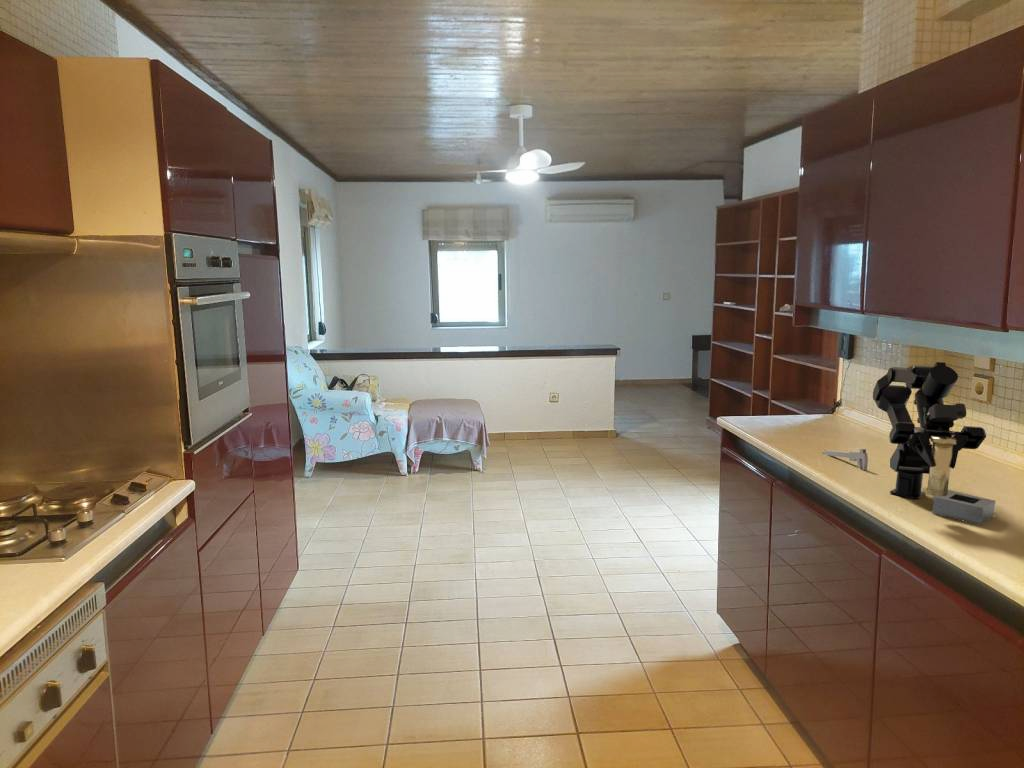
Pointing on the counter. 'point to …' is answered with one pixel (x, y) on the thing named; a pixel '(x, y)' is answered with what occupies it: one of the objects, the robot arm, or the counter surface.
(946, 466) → the flanged metal cylinder
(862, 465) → the caliper
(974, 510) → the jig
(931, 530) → the counter surface
